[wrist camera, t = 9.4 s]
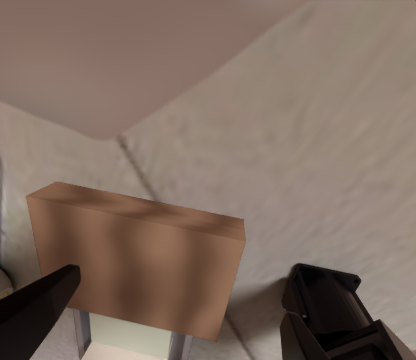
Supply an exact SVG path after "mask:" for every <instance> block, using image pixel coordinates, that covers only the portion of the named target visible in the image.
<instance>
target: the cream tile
mask: <svg viewBox="0 0 416 360" xmlns="http://www.w3.org/2000/svg"><path fill="white" fill-rule="evenodd" d="M172 341H173V338H172ZM171 347H172V342H171V346H170V350H169V354H168V358H167V359H164V358H160V357H156V356H152V355H148V354H143V353H139V352H135V351H131V350H127V349H123V348H118V347H114V346H110V345H106V344H102V343H98V342H93V341H92V342H91V344H90V346H89V347H88V349H87V351H86V352H85V354H84V356H83V358H82V359H81V360H169V356H170V352H171Z"/></svg>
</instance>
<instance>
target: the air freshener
mask: <svg viewBox="0 0 416 360" xmlns="http://www.w3.org/2000/svg"><path fill="white" fill-rule="evenodd" d="M12 293H13V288H12V284H11V282H10V280H9V278H8V276H7V275H6V274H5V272H4V271H3V270H2V269H1V268H0V299H2V298H4V297H6V296H8V295H10V294H12Z"/></svg>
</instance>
